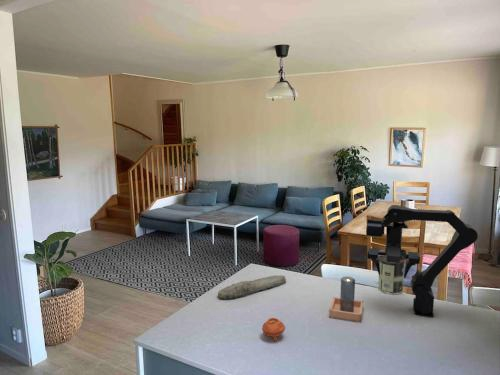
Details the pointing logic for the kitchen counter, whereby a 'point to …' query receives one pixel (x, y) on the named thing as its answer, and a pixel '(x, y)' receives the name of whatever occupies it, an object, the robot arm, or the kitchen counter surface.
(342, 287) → the dark grey cylinder
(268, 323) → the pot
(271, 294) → the kitchen counter surface
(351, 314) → the terracotta bin
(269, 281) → the elongated rock
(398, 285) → the coffee can
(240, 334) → the kitchen counter surface
